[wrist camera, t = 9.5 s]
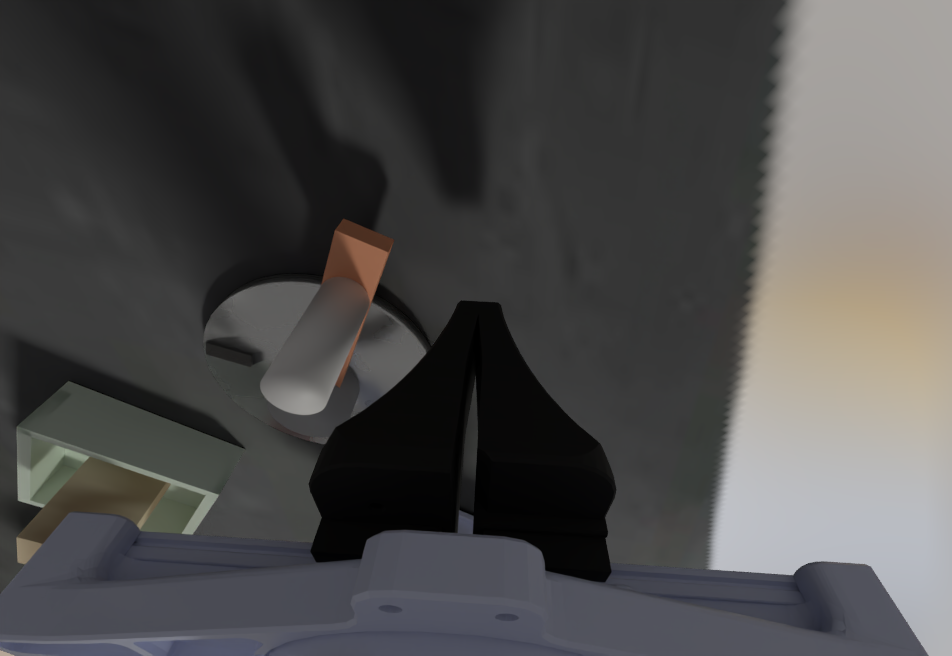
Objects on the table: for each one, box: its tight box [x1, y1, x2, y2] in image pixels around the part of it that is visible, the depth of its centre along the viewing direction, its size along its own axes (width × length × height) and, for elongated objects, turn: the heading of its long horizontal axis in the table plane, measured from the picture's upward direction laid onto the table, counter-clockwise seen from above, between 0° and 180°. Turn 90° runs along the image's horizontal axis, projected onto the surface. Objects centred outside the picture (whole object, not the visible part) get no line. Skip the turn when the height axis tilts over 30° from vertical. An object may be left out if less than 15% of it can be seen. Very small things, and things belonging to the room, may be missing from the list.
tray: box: [17, 381, 245, 535], centre depth 25 cm, size 10×10×3 cm
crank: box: [260, 219, 394, 437], centre depth 15 cm, size 11×4×6 cm, turn 155°
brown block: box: [17, 457, 171, 564], centre depth 23 cm, size 4×4×6 cm
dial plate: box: [203, 274, 431, 444], centre depth 20 cm, size 11×11×1 cm
